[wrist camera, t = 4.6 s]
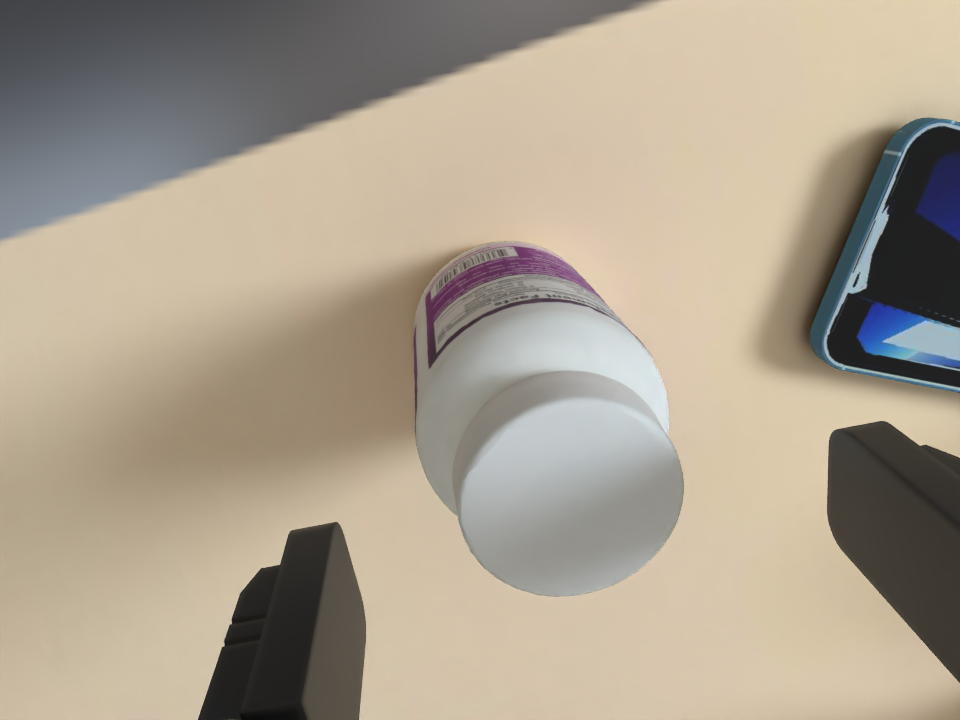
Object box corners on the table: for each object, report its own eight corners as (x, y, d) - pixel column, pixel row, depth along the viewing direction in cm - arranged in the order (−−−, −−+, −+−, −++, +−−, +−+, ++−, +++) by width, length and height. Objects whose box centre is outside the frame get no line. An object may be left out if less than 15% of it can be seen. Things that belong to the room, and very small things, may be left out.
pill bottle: (565, 421, 23) (667, 649, 14) (397, 391, 22) (389, 615, 13) (615, 255, 21) (771, 394, 12) (435, 216, 20) (456, 334, 11)
